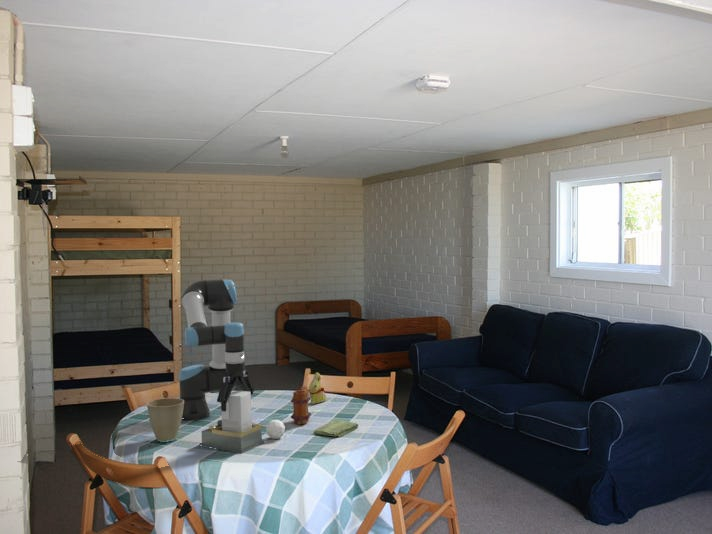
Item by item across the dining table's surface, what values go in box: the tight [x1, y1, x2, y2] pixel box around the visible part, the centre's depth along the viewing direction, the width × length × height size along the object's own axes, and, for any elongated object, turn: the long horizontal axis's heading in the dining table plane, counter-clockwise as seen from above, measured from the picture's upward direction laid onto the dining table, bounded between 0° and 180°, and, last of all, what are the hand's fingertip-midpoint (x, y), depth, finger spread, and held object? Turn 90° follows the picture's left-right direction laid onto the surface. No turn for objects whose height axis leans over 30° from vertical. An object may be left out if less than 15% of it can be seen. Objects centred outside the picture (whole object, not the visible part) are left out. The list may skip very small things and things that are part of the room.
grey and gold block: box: [198, 419, 266, 454], centre depth 274 cm, size 22×15×8 cm
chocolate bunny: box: [308, 372, 327, 405], centre depth 339 cm, size 7×11×15 cm, turn 139°
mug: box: [290, 385, 312, 425], centre depth 305 cm, size 15×8×15 cm, turn 168°
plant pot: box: [146, 397, 184, 441], centre depth 282 cm, size 15×15×16 cm
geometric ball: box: [265, 419, 286, 440], centre depth 281 cm, size 8×8×8 cm
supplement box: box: [221, 390, 253, 433], centre depth 272 cm, size 9×9×15 cm
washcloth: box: [312, 419, 359, 438], centre depth 289 cm, size 13×18×3 cm
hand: (236, 414), depth 272 cm, fingers open, 13 cm apart
